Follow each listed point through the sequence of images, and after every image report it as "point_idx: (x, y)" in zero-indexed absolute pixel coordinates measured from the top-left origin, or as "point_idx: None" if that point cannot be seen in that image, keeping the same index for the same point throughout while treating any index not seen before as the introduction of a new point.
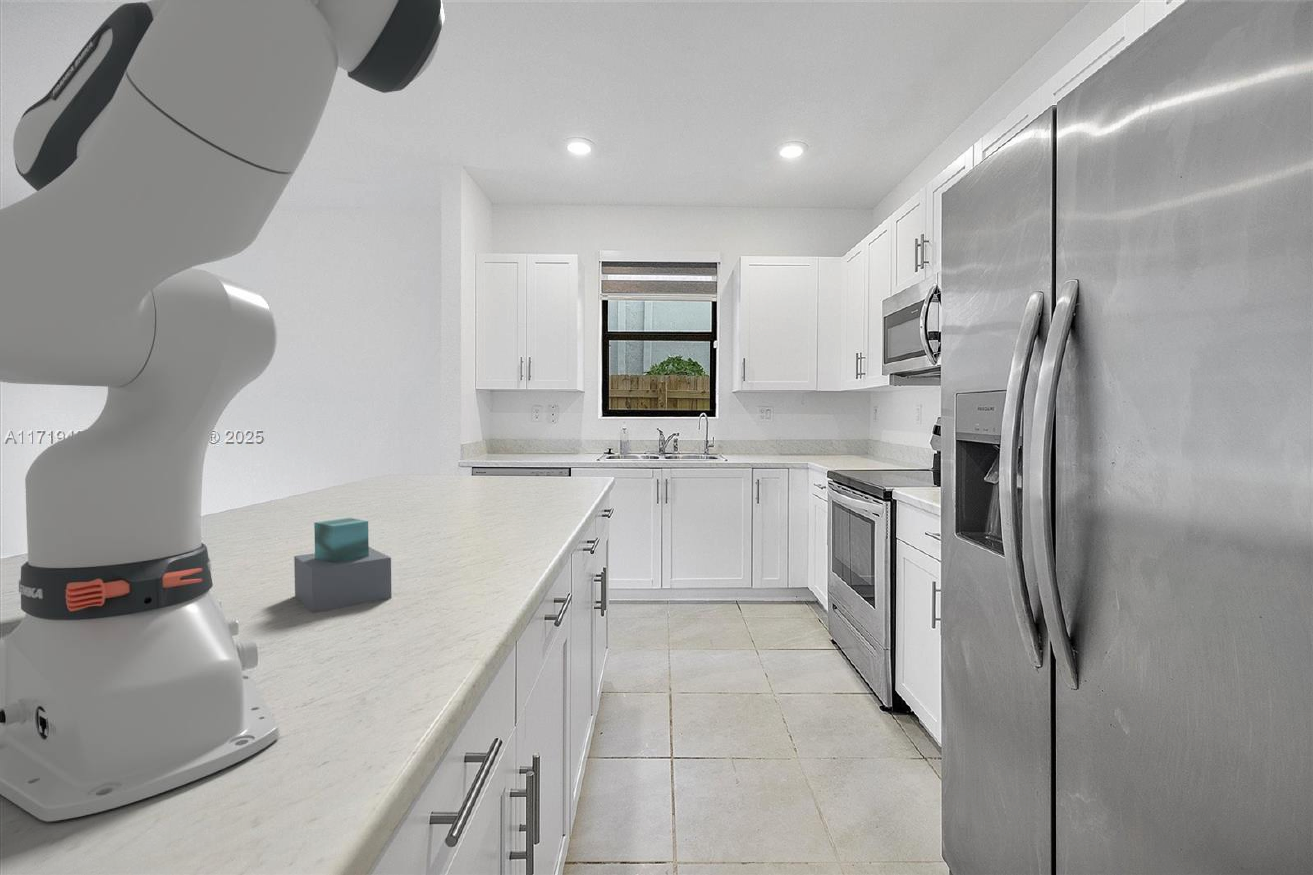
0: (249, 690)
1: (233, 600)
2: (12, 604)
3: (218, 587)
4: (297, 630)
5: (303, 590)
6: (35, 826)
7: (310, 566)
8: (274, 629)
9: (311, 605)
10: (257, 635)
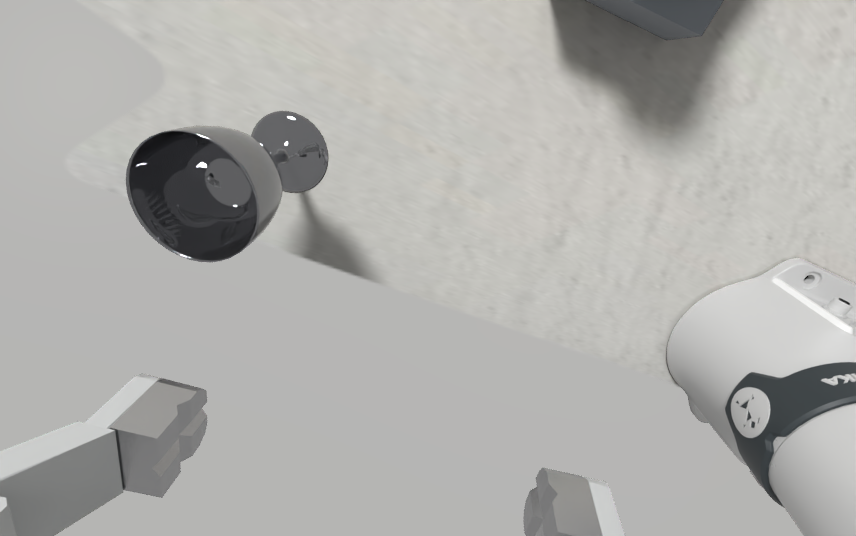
0: (846, 291)
1: (465, 58)
2: None
3: (352, 15)
4: (712, 115)
5: (616, 9)
6: None
7: (680, 21)
8: (672, 127)
9: (662, 35)
10: (669, 155)
